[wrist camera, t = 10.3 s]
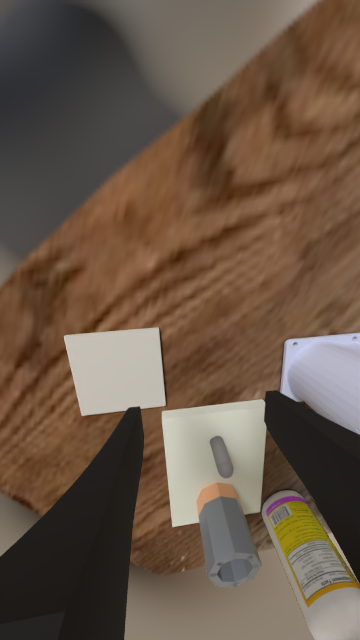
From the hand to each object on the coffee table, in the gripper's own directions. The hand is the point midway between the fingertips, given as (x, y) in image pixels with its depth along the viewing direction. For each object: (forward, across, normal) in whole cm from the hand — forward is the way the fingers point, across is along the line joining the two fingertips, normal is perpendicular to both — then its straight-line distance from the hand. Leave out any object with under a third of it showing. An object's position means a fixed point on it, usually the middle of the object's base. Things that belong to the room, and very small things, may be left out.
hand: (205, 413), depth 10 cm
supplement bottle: (+10, -13, +26) cm, 31 cm away
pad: (+9, +7, +2) cm, 12 cm away
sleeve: (+8, -3, +20) cm, 22 cm away
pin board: (+9, -3, +16) cm, 19 cm away
